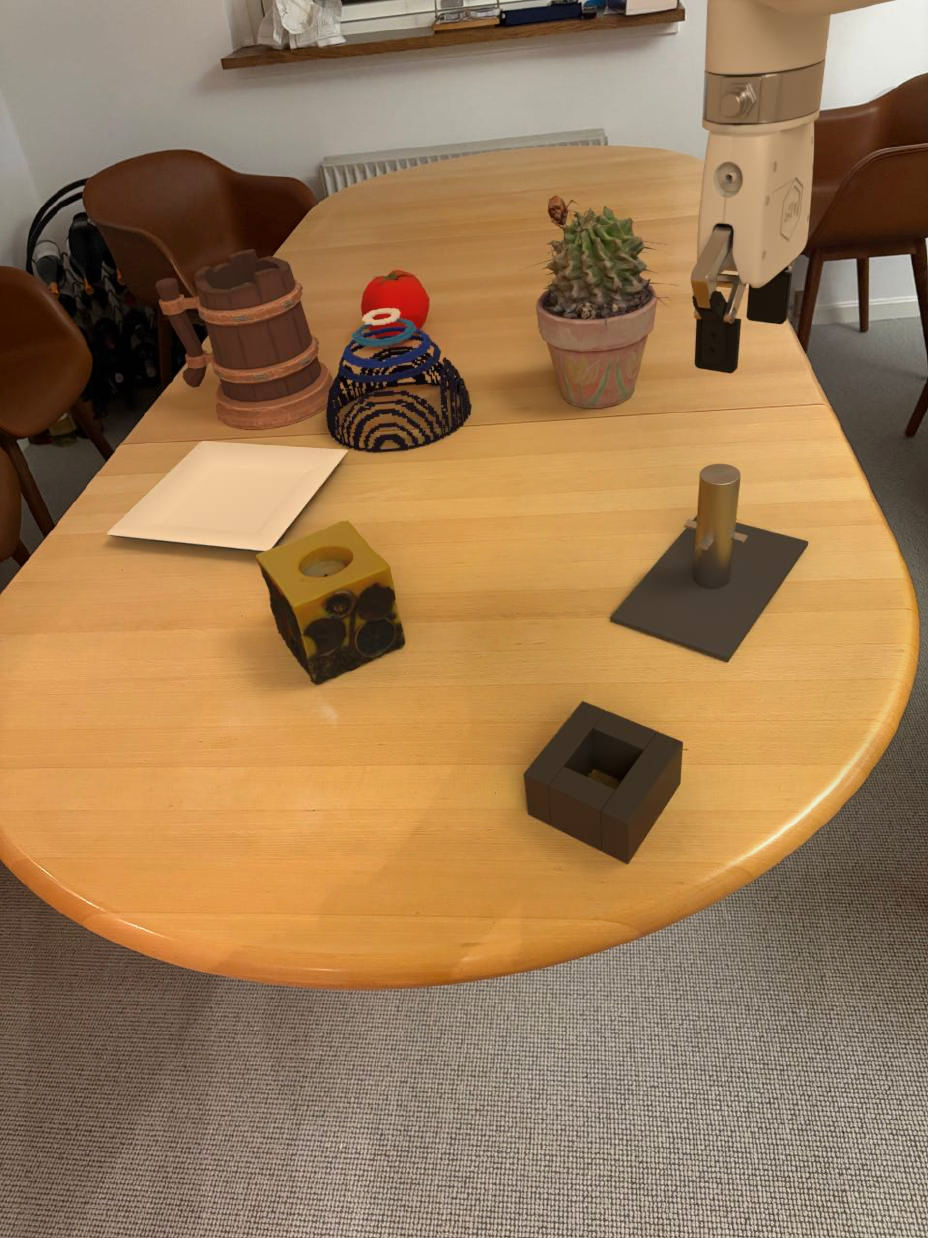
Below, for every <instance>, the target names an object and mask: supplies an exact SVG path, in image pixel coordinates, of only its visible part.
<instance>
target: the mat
mask: <svg viewBox="0 0 928 1238" xmlns="http://www.w3.org/2000/svg"><path fill="white" fill-rule="evenodd" d="M692 521H695V522H697V515H695V517H694V518H693V519H692ZM735 532H736V533H740V534H744V535H748V538H747V539H746V541H745V542H744V543H740V542H736V541H734V548H733V558H732V568H731V578H730V581H729V583H728V584H726V585H725V586H723V587H720V588H706V587H703V586H700V585H699V584H697V583H696V582H695V581H694V578H693V570H694V555H695V539H696V530H693V529H689V528H685V529H683V531H682V532H681V533H680V534H679V535H678V536H677V538H676V539H675V540H674V541H673V543H672V544H671V545H670V546H669V547H668V549H666V551H665V552H664V553H663V554H662V556H661V557H660V558H659V559H658V560H657V561H656V562H655V564H654V565H653V566H652V567H651V568H650V569H649V571H648V572H647V573H645V576H644V577H642V579H641V580H640V581H639V582H638V584H636V586H635V587H634V588H633V589H632V591H630V592H629V594H628V595H627V596H626V597H625V598H624V600H623V601H622V602H621V604H619V606H618V607H617V608H616V609H615V611H614V612H613V613H612V614H611V615H610V617H609V621H610V622H611V623H614V624H616V625H617V624H618V625H620V626H623V627H626V628H629V629H631V630H634V631H638V632H640V633H643V634H646V635H649V636H652V637H655V638H657V639H660V640H662V641H666V642H668V643H671V644H674V645H678V646H680V647H683V648H686V649H689V650H692V651H694V652H697V653H701V654H703V655H706V656H710V657H712V658H715V659H717V660H720V661H724V662H726V663H729V661H730V660H731V659H732V657H733V655H734V654H735V653H736V651H737V650H738V649H739V647H740V645H741V644H742V642H743V641H744V639H745V638H746V636H747V635H748V634H749V632H750V631H751V629H752V628H753V627H754V625H755V623H756V622H757V621H758V619H759V618H760V616H761V614H762V613H763V612H764V610H765V609H766V607H767V606H768V605H769V604H770V601H772V599H773V598H774V596H775V595H776V593H777V591H778V590H779V589H780V587H781V585H782V584H783V582H784V581H785V580H786V579H787V577H788V575H789V574H790V573H791V571H792V569H793V568H794V567H795V565H796V564H797V562H798V561H799V559H800V557H801V556H802V555H803V553H804V552H805V550H806V549H807V547H808V546H809V541H808V540H806V539H802V538H798V537H795V536H791V535H786V534H783V533H779V532H775V531H771V530H767V529H763V528H759V527H756V526H752V525H749V524H745V523H742V522H741V523H740V522H737V521H736V528H735Z"/></svg>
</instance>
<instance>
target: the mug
mask: <svg viewBox="0 0 928 1238" xmlns="http://www.w3.org/2000/svg"><path fill="white" fill-rule="evenodd" d="M226 257H227V261H225V262H222V263H219V264H216V265H215V266H213V267H212V266H209V265H203V266H202V267H200V268H199V269H198V270H197V271H196V272H195V274H194V276H193V277H194V283H195V288H196V291H197V296H195V297H185V295H184V294H181V293H180V290H179V285H178V280H177V279H176V278H175V277H167V278H162V279H160V280H158V281H156V283H155V289H156V291H157V293H158V295H159V297H160V299H158V304H159V306H160V309H161V311H162V314H163V315H167V317H168V320H169V322H170V325H171V326H172V328H173V329H174V331H175V333H176V335H177V337H178V339H180V342H181V343H182V345H183V347H184V348H185V350H186V354H184V356H185V357H184V358H185V362H186V364H187V368H185V370H183V371H182V379H183V381H184V382H185V383H186V385H188V386H190V387H191V388H193V389H194V388H199V387H200V386H201V384H202V383H203V381H204V379H205V377H206V373H207V368H208V365H210V364H211V367H212V370H213V373H214V375H215V377H217V378H219V382H220V384H218V385H217V388H216V391H215V393H214V394H215V398H216V402H217V403H216V405H215V410H216V411H215V412H216V415H217V417H218V420H220V421H221V422H222V423H224V424H225V425H226V426H230V427H233V428H236V429H242V430H265V429H273V428H281V427H284V426H287V425H291V424H295V423H298V422H301V421H304V420H306V419H308V418H310V417H312V416H315V415H317V414H318V413H320V412H321V411H323V410H325V408H326V409H327V406H328V405H327V403H328V395H329V393H328V392H329V389H330V387H331V386H332V384H333V382H334V379H335V378H334V377H333V375H332V374H331V371H330V369H329V367H328V366H327V364H325V363H324V362H321V361H319V357H318V355H319V350H320V347H319V344H320V341H319V339H318V338H317V337H316V336H315V335H314V334H313V333H311V330H310V327H309V323H308V320H307V317H306V313H305V310H304V306H303V302H302V301H301V300H302V296H303V290H304V287H303V285H302V283H300V282H299V281H298V280H297V279H296V278H295V277H294V274H293V270H292V268H291V265H290V263H289V262H288V261H287V260H284V259H282V258H278V257H274V256H272V255H267V256H264V257H261V258H258V255H257V252H256V249H255V248H252V249H244V250H239V251H236V252H233V253H231V254H228V255H226ZM189 309H197V311H198V317H200V319H201V320H203V321H204V323H205V327H206V331H207V335H208V339H209V343H210V347H211V352H208V351H207V350H204V349H203V345H202V342H201V340H200V339H199V336H198V334H197V333H196V330H195V329H194V326H193V324H192V322H191V320H190V317H189V316H188V314H187V310H189ZM334 393H335V392H334Z"/></svg>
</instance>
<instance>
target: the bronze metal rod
mask: <svg viewBox="0 0 928 1238" xmlns="http://www.w3.org/2000/svg"><path fill="white" fill-rule="evenodd" d="M741 474H742V473H741V471H740V469H738V468H737V467H736V466H734V465H732V464H727V463H712V464H708V465H706V466H705V467H703V468H701V470H700V472H699V478H698V493H697V508H696V516H697V522H695V521H692V520H693V519H692V520H691V519H688V520H687V521H686V522H685V523H684V525H683V528H685V529H686V528H689V529H693V530H696V539H695V555H694V570H693V578H694V581H695V582H696V583H697V584H699V585H700V586H703V587H706V588H720V587H723V586H725V585H726V584H728V583H729V581H730V578H731V568H732V558H733V548H734V541H736V542H740V543H744V542H745V541H746V539H747V538H748V535H744V534H740V533H736V532H735V528H736V522H737V516H738V506H739V497H740V496H739V495H740V487H741V477H742V475H741Z"/></svg>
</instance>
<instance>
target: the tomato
mask: <svg viewBox="0 0 928 1238" xmlns="http://www.w3.org/2000/svg"><path fill="white" fill-rule="evenodd" d="M384 308H390V309H392V308H395V309H397V310H398V309H399V312H400V317H399V319H404V320H405V319H407V320H409V321H412V323H414V325H415V327H417V329H419V330H421V328H423V327H424V324H425V323H426V321H427V318H428V314H429V310H430V297H429V294H428V293H427V291H426V289H425V287H424V286H423V284H422V282H421V281H420V280H419V279H418V278H417V276H416V275H415V274H414V273H411V272H409V271H405V270H401V269H395V270H392V271H390V272H389V273H388V274H387V275H378V276H375V277H373V278H372V279H371V281H369V282H368V284H367V285H366V287H365V289H364V290H363V291H362V297H361V303H360V310H361V315H362V316H361V317H362V318H363V317H364V315H366V314H367V313H369V311H372V310H378V309H384ZM388 317H391V314H389V313H385V314H377V315H375V316H374V317H372V318H373V319H374V320H380V319H384V318H388ZM365 325H367V324H365ZM399 326H401V327H406V325H405V324H404V323H403V324H402V323H399V322H390V323H386V324H384V325H374V326H371V327H368V328H367V329H368V330H369V332H370V331H374V330H378V329H382V328H388V327H399ZM401 333H404V332H400V331H398V332H387V333H384V334H377V335H374V337H375V338H378V337H383V336H392V335H399V334H401ZM413 335H415V336H416V335H417V333H414V334H413Z"/></svg>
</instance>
